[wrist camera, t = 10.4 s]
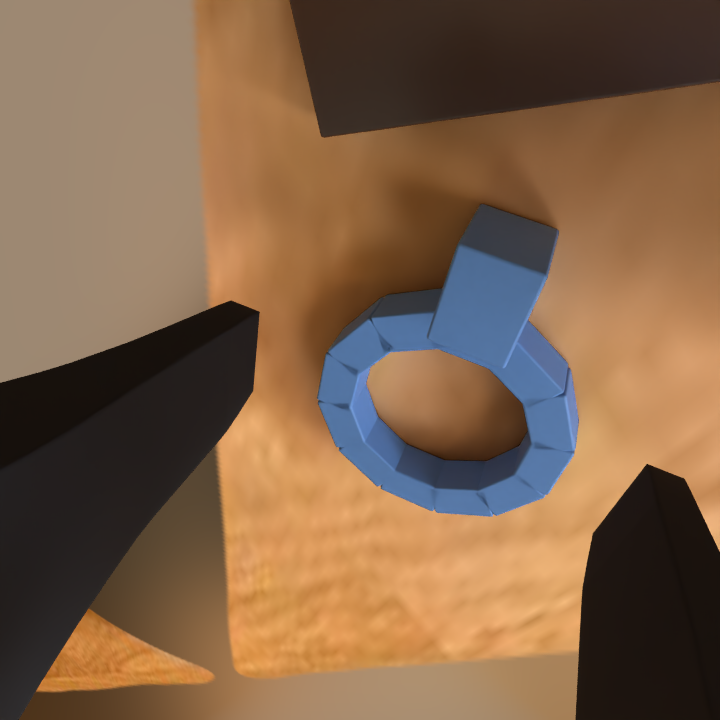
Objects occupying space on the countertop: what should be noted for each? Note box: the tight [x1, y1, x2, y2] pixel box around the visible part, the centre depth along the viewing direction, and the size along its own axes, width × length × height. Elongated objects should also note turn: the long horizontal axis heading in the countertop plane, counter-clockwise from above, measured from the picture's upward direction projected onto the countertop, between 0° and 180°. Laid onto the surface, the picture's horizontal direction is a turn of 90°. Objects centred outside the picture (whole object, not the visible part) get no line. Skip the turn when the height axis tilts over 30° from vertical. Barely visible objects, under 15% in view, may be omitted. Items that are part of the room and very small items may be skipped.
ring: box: [317, 204, 579, 516], centre depth 20 cm, size 12×9×3 cm
